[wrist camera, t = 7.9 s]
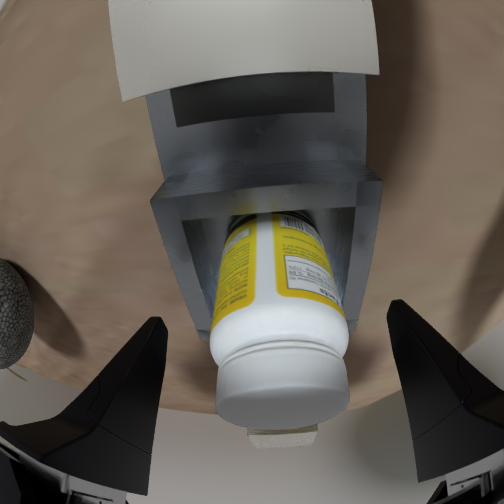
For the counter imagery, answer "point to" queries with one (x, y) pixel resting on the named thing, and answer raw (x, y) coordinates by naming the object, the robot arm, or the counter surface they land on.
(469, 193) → the counter surface
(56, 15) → the counter surface
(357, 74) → the rail
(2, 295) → the decorative ball
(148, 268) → the counter surface
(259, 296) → the supplement bottle
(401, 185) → the counter surface
